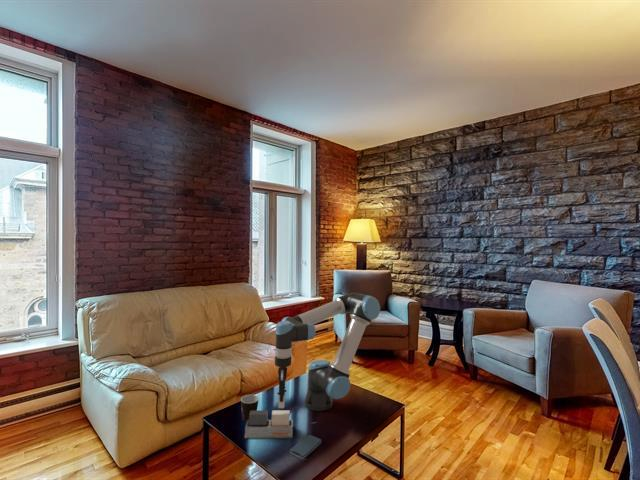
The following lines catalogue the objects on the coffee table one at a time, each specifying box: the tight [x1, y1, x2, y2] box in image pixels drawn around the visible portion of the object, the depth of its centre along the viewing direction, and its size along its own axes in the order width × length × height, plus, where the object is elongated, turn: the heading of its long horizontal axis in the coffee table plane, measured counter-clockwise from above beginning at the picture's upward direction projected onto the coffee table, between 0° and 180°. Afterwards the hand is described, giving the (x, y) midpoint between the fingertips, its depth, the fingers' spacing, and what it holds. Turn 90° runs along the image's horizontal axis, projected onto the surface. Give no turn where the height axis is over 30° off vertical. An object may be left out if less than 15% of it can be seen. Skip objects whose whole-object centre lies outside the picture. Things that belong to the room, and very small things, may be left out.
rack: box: [244, 410, 294, 439], centre depth 148 cm, size 21×9×9 cm, turn 93°
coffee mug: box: [240, 394, 260, 423], centre depth 160 cm, size 12×9×10 cm
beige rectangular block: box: [271, 409, 291, 426], centre depth 149 cm, size 8×4×8 cm, turn 93°
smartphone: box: [289, 434, 323, 460], centre depth 139 cm, size 8×2×15 cm
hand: (281, 407), depth 149 cm, fingers closed
